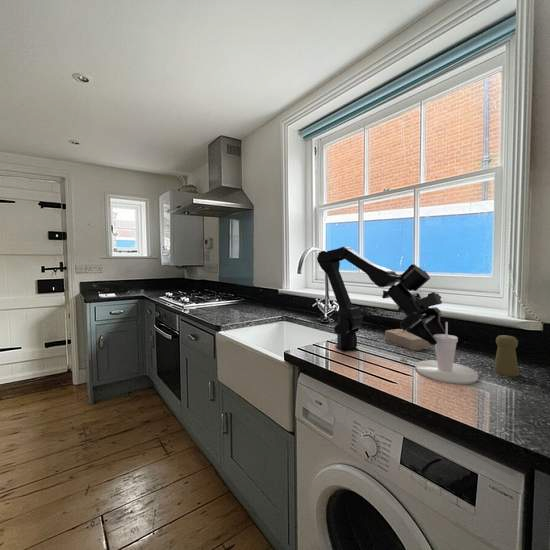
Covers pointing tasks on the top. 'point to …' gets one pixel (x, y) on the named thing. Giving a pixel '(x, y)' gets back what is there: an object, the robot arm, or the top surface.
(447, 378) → the plate
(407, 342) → the brick
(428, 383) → the top surface
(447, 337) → the smoothie
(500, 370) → the cork
